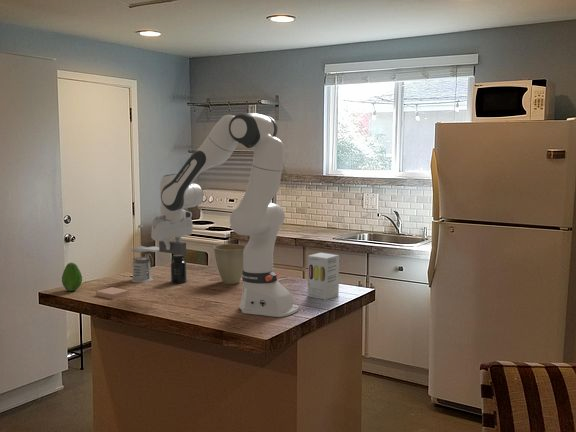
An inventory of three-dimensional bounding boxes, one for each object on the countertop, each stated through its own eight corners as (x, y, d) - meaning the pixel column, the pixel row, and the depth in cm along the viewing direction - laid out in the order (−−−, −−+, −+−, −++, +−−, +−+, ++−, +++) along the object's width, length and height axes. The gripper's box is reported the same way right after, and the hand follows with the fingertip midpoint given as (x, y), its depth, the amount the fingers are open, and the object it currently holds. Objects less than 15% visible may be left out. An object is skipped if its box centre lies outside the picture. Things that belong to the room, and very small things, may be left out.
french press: (143, 276, 274) (141, 222, 271) (160, 279, 267) (159, 224, 264) (126, 280, 266) (124, 225, 263) (143, 283, 259) (141, 227, 256)
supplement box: (306, 296, 238) (307, 255, 236) (319, 292, 245) (320, 251, 243) (326, 300, 232) (327, 258, 230) (339, 295, 239) (339, 254, 237)
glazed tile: (128, 290, 240) (111, 287, 246) (112, 294, 234) (95, 291, 239) (128, 295, 240) (111, 292, 246) (113, 300, 234) (96, 296, 239)
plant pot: (208, 284, 258) (208, 248, 256) (222, 277, 272) (222, 243, 270) (240, 287, 253) (239, 250, 251) (253, 279, 267) (252, 245, 265)
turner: (188, 253, 238) (188, 242, 237) (178, 255, 233) (178, 244, 232) (153, 248, 248) (152, 237, 248) (142, 250, 243) (142, 239, 243)
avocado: (66, 294, 241) (65, 265, 240) (59, 290, 247) (58, 262, 246) (85, 290, 247) (84, 262, 245) (78, 287, 253) (77, 259, 251)
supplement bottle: (189, 281, 264) (189, 254, 263) (179, 284, 258) (178, 257, 257) (178, 279, 268) (177, 253, 266) (167, 282, 262) (167, 255, 261)
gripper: (158, 217, 226) (159, 253, 228) (194, 212, 243) (195, 245, 245) (147, 216, 230) (148, 251, 231) (183, 211, 247) (184, 244, 248)
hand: (172, 248), depth 238 cm, fingers closed on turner, 3 cm apart
